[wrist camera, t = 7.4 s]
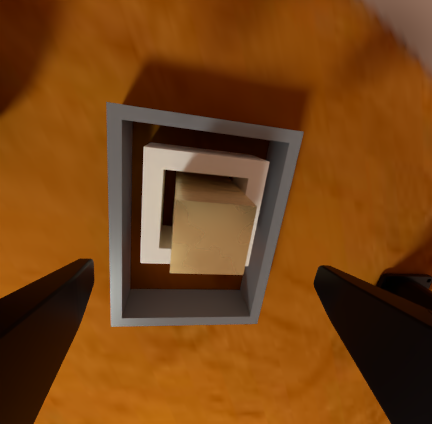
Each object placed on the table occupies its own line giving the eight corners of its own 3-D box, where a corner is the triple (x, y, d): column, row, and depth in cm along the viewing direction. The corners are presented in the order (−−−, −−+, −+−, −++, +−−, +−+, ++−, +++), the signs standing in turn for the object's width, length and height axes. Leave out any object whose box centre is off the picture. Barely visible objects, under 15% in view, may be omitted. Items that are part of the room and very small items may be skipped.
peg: (226, 174, 19) (257, 206, 12) (219, 220, 20) (243, 275, 13) (176, 169, 18) (175, 199, 11) (172, 216, 20) (169, 273, 12)
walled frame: (281, 130, 18) (307, 131, 15) (246, 296, 24) (258, 328, 20) (120, 106, 16) (103, 101, 12) (121, 296, 21) (109, 331, 18)
